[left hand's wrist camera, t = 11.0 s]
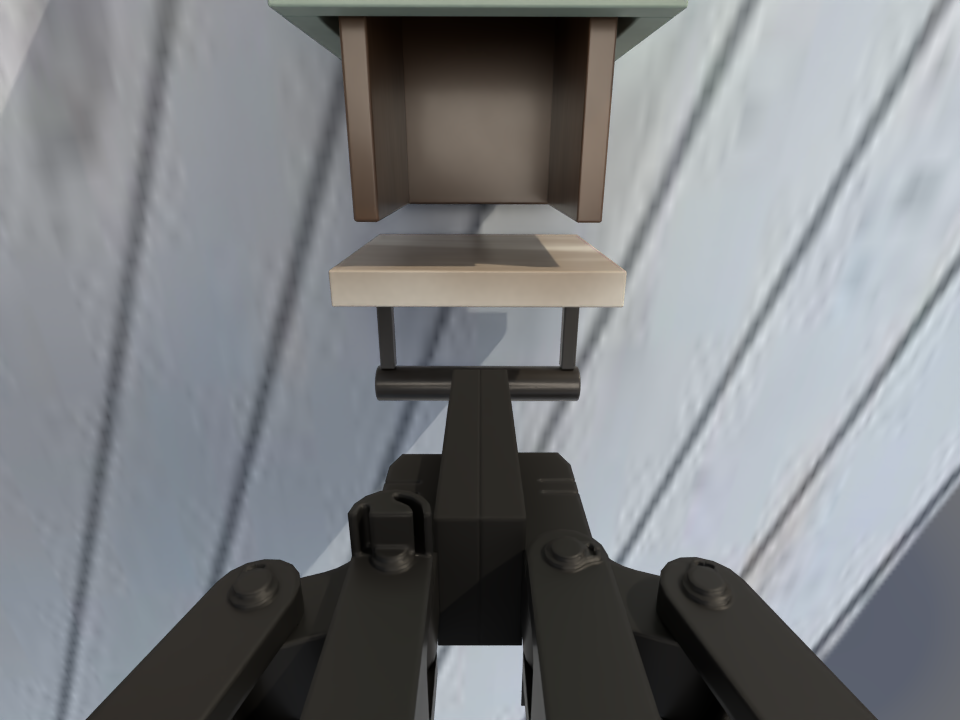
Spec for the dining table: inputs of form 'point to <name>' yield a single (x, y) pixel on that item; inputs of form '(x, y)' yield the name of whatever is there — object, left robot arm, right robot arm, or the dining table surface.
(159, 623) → the dining table surface
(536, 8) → the cabinet
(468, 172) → the drawer
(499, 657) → the dining table surface
